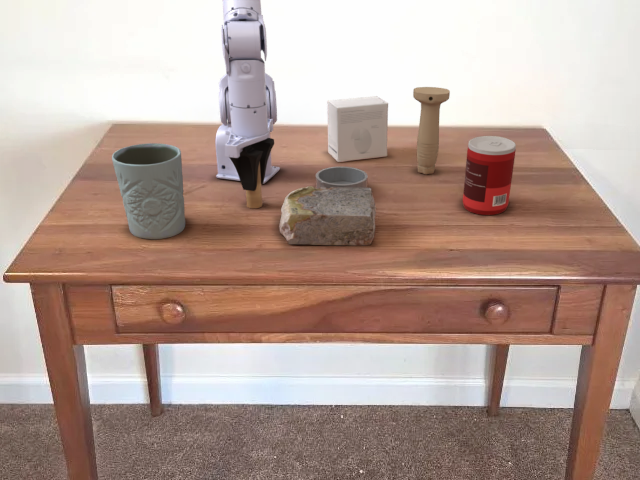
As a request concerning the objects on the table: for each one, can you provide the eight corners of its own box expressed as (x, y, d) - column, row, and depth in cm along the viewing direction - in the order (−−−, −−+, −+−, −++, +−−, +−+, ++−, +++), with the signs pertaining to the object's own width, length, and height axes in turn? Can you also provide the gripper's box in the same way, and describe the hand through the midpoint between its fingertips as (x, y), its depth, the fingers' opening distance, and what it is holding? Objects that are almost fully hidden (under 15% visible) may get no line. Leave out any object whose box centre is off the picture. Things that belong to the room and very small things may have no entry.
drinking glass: (156, 247, 111) (145, 169, 104) (109, 231, 115) (96, 155, 109) (203, 223, 118) (195, 150, 112) (156, 209, 123) (146, 138, 116)
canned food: (511, 201, 128) (519, 138, 122) (503, 219, 122) (511, 153, 116) (467, 195, 130) (473, 133, 124) (457, 212, 124) (463, 147, 118)
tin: (308, 197, 128) (308, 181, 126) (325, 179, 135) (325, 164, 134) (358, 204, 126) (359, 187, 124) (373, 185, 133) (373, 169, 132)
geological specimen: (380, 215, 110) (278, 210, 108) (376, 251, 113) (277, 248, 112) (374, 186, 119) (280, 181, 117) (371, 220, 122) (279, 217, 121)
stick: (244, 207, 124) (240, 158, 119) (250, 201, 126) (247, 152, 122) (258, 209, 123) (255, 159, 119) (264, 203, 126) (261, 154, 121)
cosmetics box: (375, 146, 151) (377, 94, 145) (387, 157, 146) (389, 103, 140) (326, 152, 148) (326, 98, 142) (337, 162, 143) (337, 107, 137)
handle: (442, 177, 137) (449, 95, 129) (408, 175, 138) (412, 93, 130) (443, 168, 141) (450, 88, 133) (409, 166, 142) (414, 86, 134)
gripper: (243, 89, 122) (248, 168, 130) (203, 113, 111) (211, 199, 118) (283, 93, 121) (286, 173, 128) (247, 118, 109) (252, 204, 116)
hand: (253, 186), depth 123 cm, fingers closed on stick, 2 cm apart
